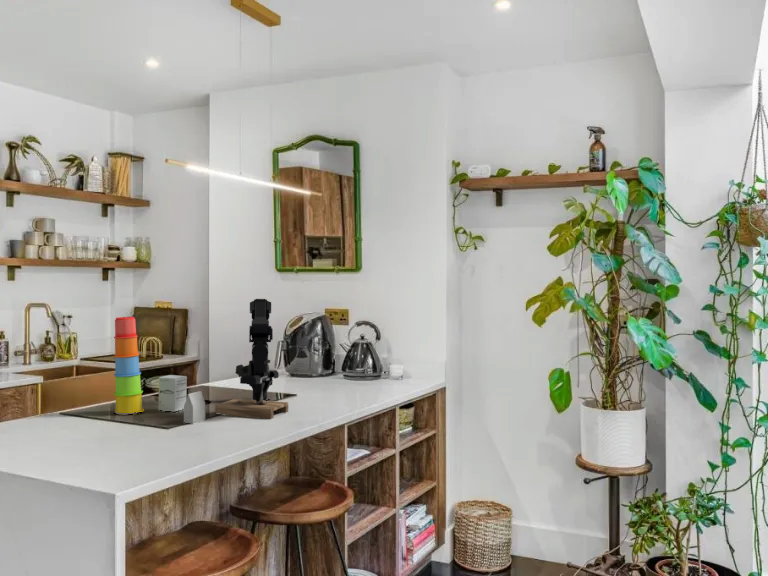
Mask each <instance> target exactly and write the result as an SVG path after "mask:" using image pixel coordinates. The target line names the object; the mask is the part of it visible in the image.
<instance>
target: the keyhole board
mask: <svg viewBox="0 0 768 576" xmlns="http://www.w3.org/2000/svg"><path fill="white" fill-rule="evenodd" d="M281 412H287V413H289V402H288V401H273V400H272V401H271V400H267V401H263V405H256V400H250V399H245V398H244V399H243V398H234V399H230V400H226V401H222V402H221V403H218V404H215V405H214V414H215V413H220V414H225V415H230V416H229V417H237V416H241V418H250V417H252V418H253V419H254V418H255V419H264V418H265V419H266V420H267V419H268V420H272V419H274V418H275V417H274V413H281ZM271 418H272V419H271Z"/></svg>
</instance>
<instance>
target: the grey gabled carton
mask: <svg viewBox="0 0 768 576" xmlns="http://www.w3.org/2000/svg"><path fill="white" fill-rule="evenodd" d="M202 420H205V421H206V401H205V399H204V396H203V393H202V391H200V390H198V391H195V392H190V393H188V394H187V395H186V402H185V404H184V410H183V423H184V422H185V423H190V424H189V425H195V424H194V423H196V424H198V423H197V422H199V423H201V422H200V421H202ZM202 422H203V421H202ZM185 423H184V424H185Z"/></svg>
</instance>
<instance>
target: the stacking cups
mask: <svg viewBox="0 0 768 576" xmlns="http://www.w3.org/2000/svg"><path fill="white" fill-rule="evenodd" d="M136 323H137V322H136V318H135V316H120V317H116V318H115V319H114V332H115V333H114V334H115V335H114V336H113V338H114V348H115V349H114V351H115V353H114V355H113V357H114V362H115V363H114V366H115V368H114V369H115V370H114V371H115V373H114V374H113V377H115V378H114V379H115V392H114V393H113V395H114V396H115V411H116V412H118V413H134V412H136V413H137V412H142V413H143V412H144V411H145V409H144V408H143V401H142V399H143V396H142V394H143V392H144V390H142V388H141V387H142V386H141V385H142V384H141V374H142V371H140V360H139V356H140V353H139V349H138V348H139V347H138V337H139V335H137V324H136Z"/></svg>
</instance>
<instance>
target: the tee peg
mask: <svg viewBox="0 0 768 576" xmlns="http://www.w3.org/2000/svg"><path fill="white" fill-rule="evenodd" d="M256 405H263V391H262V395H261V398H260V401H256Z"/></svg>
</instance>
